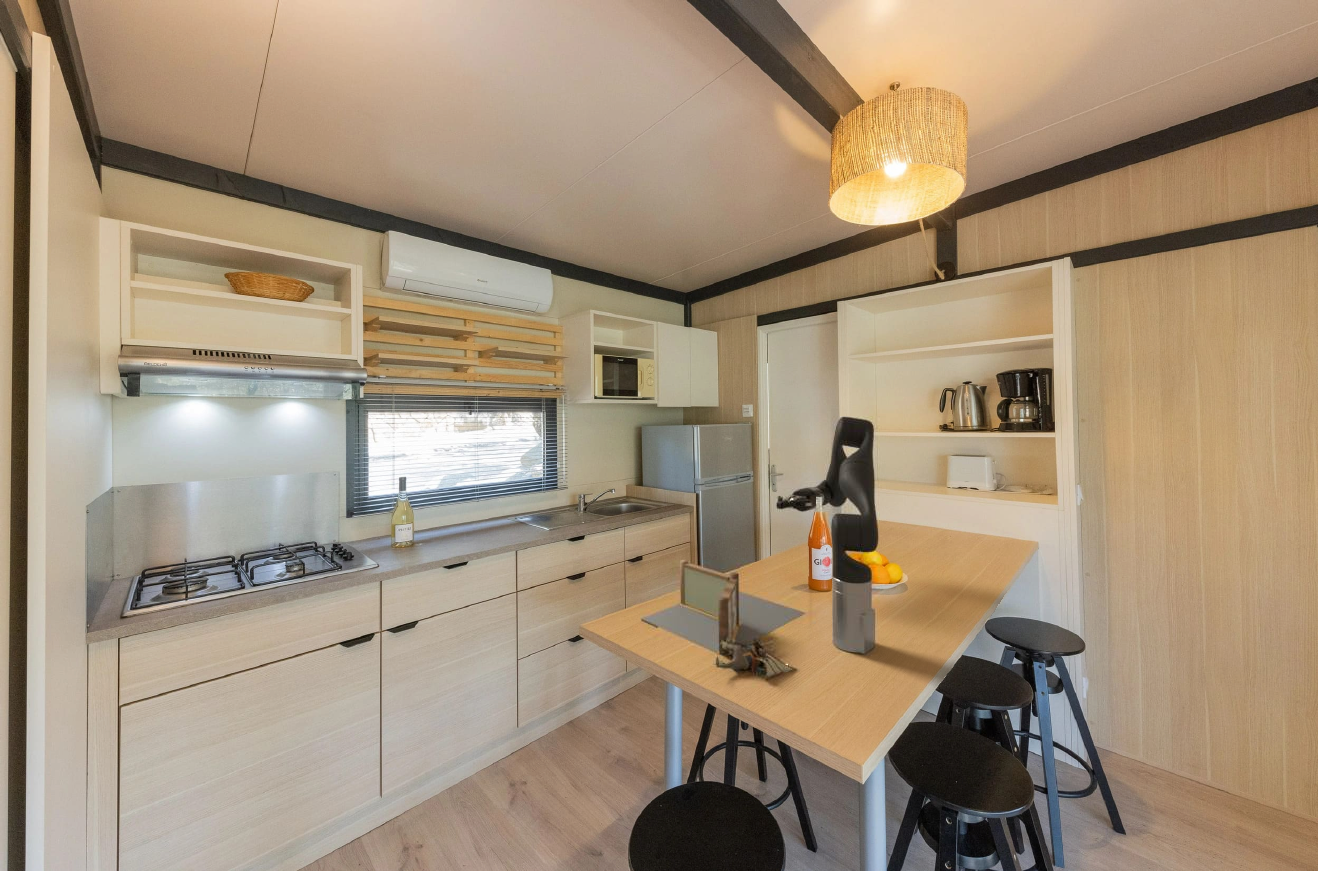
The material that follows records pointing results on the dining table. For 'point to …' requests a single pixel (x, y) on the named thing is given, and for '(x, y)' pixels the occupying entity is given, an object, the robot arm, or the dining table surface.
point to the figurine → (753, 658)
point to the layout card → (704, 627)
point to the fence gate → (701, 587)
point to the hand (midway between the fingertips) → (778, 505)
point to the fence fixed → (728, 611)
